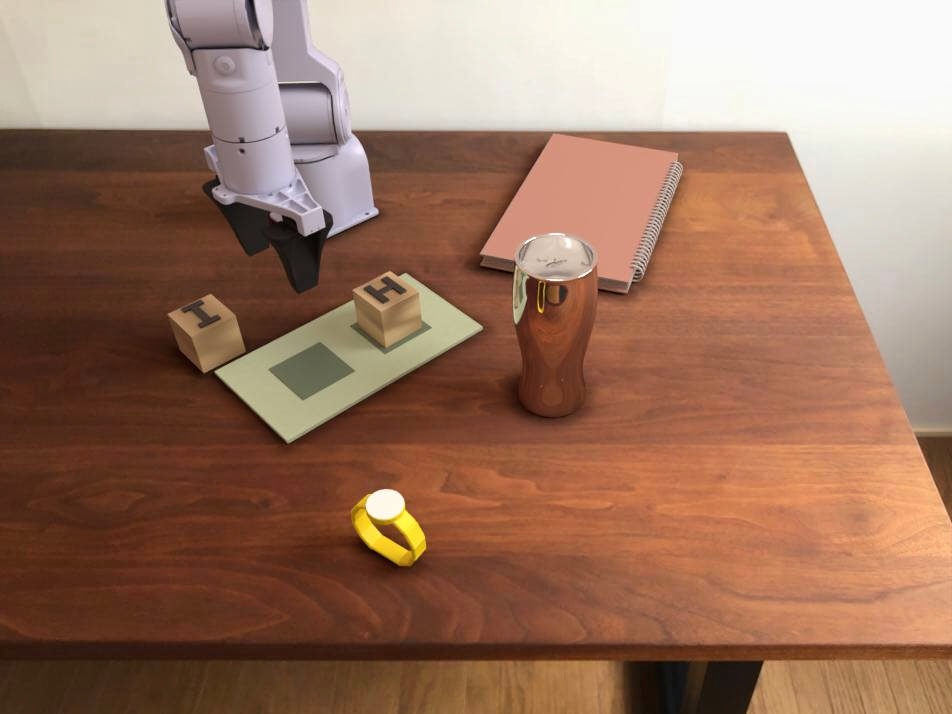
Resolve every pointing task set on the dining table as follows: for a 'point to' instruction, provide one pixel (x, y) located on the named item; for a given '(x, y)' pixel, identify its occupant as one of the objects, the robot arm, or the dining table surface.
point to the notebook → (591, 205)
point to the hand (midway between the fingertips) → (281, 268)
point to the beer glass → (554, 319)
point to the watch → (386, 511)
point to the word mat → (337, 364)
